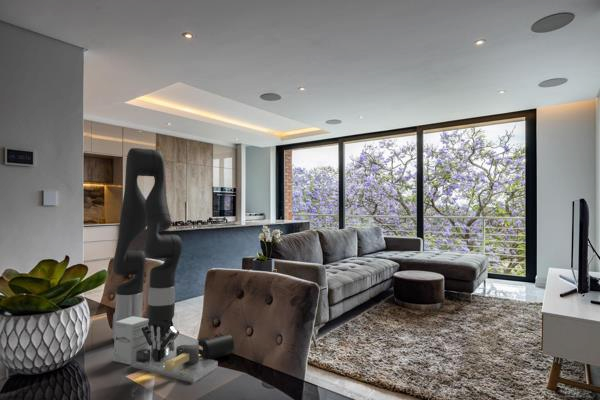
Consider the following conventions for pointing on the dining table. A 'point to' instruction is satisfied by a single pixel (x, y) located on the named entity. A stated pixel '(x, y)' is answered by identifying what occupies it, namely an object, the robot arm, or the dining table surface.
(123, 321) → the supplement box
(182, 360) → the level knob
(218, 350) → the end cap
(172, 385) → the dining table surface
